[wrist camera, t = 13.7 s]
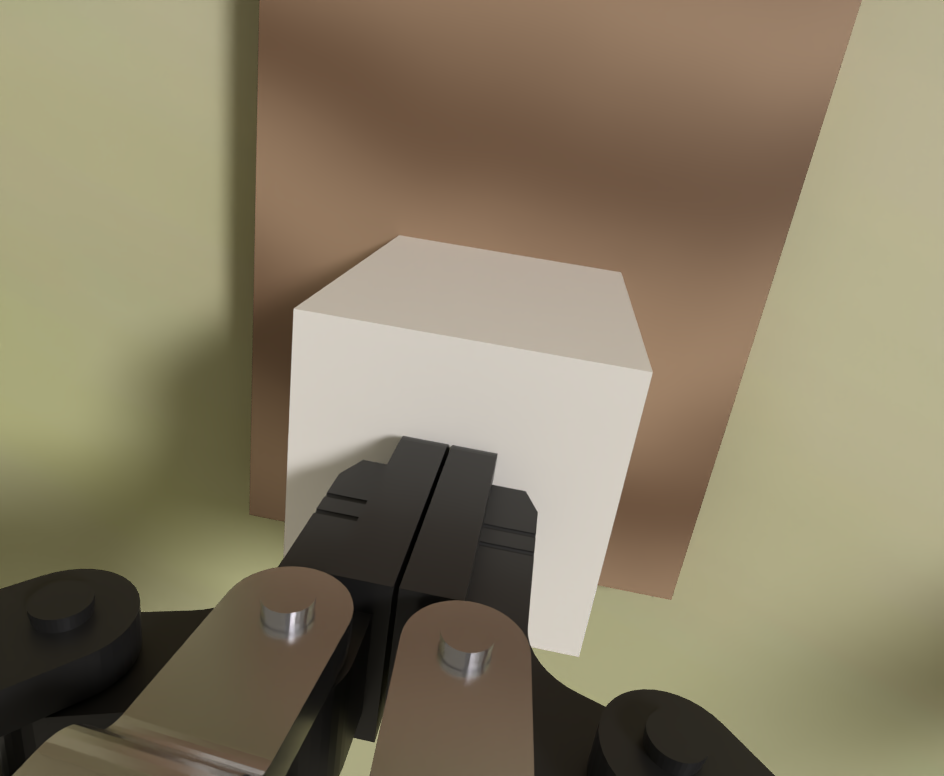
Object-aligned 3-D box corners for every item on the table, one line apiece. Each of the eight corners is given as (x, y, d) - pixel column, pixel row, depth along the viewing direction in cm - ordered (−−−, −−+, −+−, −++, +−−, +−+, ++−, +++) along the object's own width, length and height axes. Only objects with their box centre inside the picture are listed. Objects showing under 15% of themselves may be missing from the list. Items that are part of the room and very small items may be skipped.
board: (306, -630, 12) (272, -726, 11) (1013, -574, 11) (1074, -671, 10) (270, 488, 21) (249, 514, 20) (664, 566, 20) (671, 599, 19)
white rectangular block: (399, 235, 16) (293, 308, 10) (621, 272, 16) (652, 372, 10) (379, 432, 18) (282, 595, 12) (576, 470, 18) (578, 656, 12)
